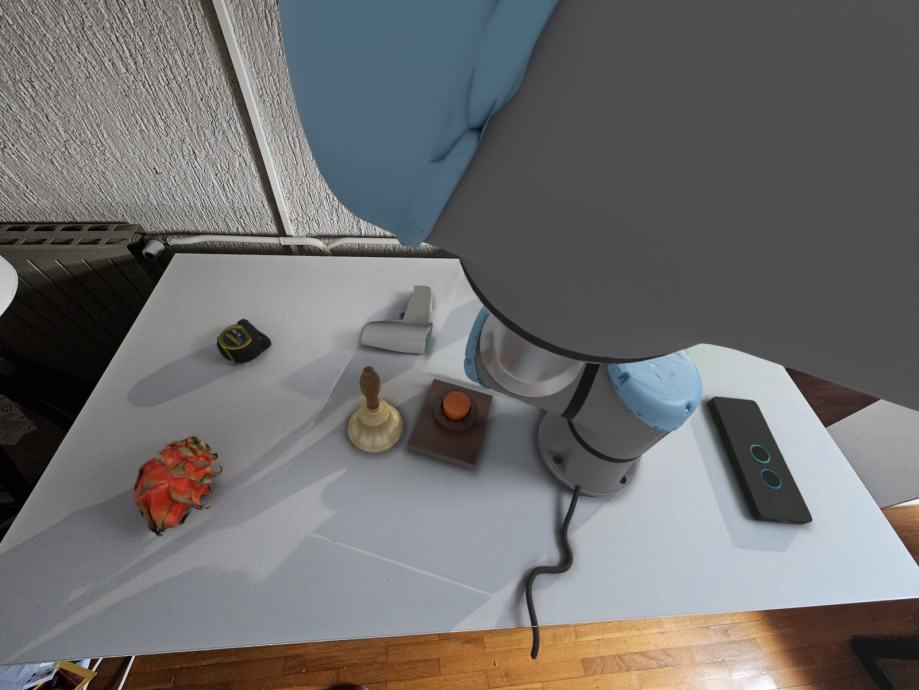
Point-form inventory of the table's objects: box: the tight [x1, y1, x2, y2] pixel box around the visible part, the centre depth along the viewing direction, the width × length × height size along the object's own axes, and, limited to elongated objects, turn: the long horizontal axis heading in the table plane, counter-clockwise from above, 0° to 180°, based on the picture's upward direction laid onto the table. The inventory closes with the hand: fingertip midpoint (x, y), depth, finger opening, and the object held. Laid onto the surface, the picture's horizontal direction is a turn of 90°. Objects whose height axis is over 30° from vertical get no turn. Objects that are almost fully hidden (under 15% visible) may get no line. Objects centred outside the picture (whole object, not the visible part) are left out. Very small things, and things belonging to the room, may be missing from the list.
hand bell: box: [347, 365, 404, 454], centre depth 52 cm, size 8×8×16 cm
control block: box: [408, 378, 494, 471], centre depth 58 cm, size 12×10×4 cm
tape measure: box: [216, 318, 272, 364], centre depth 63 cm, size 7×7×4 cm
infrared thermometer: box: [359, 284, 434, 355], centre depth 70 cm, size 5×12×15 cm
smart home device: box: [708, 395, 813, 526], centre depth 61 cm, size 8×2×20 cm
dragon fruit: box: [133, 435, 224, 538], centre depth 47 cm, size 8×8×12 cm
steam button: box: [443, 392, 470, 421], centre depth 57 cm, size 4×4×2 cm
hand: (591, 187), depth 59 cm, fingers open, 13 cm apart
